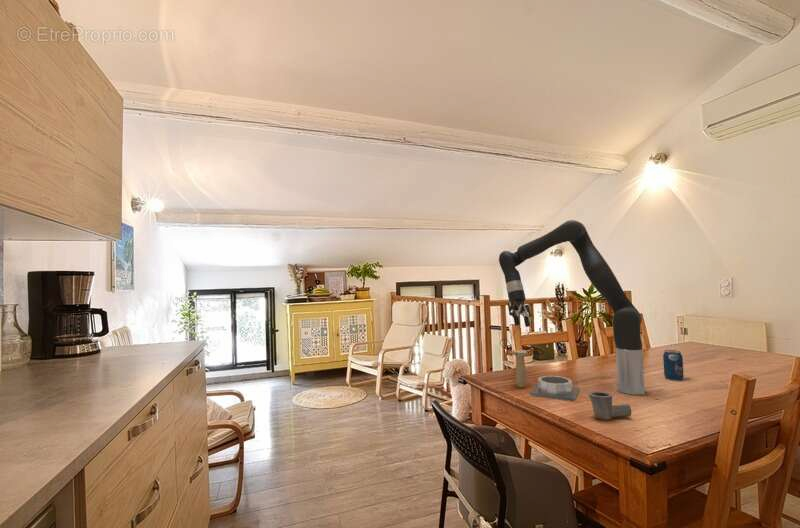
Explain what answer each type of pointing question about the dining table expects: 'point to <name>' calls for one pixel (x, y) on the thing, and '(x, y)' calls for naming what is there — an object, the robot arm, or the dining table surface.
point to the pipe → (607, 406)
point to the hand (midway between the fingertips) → (522, 325)
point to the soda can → (673, 365)
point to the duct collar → (555, 388)
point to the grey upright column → (520, 367)
